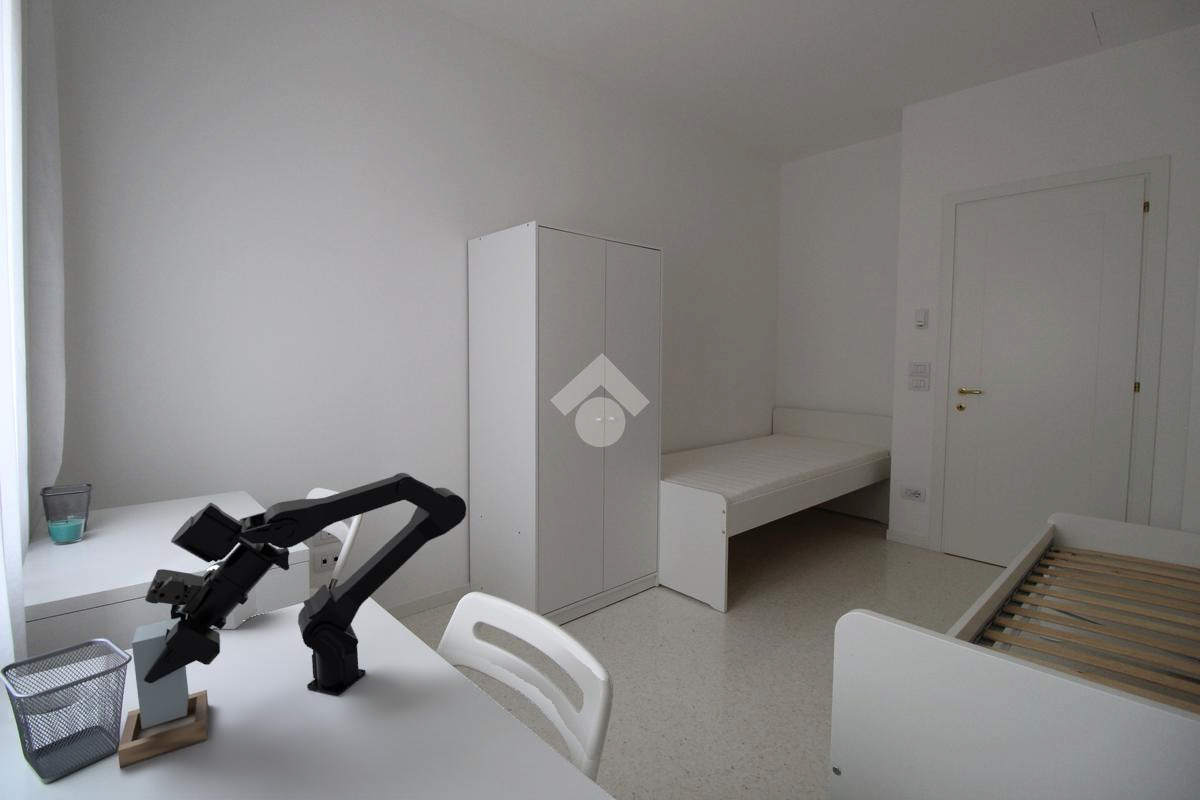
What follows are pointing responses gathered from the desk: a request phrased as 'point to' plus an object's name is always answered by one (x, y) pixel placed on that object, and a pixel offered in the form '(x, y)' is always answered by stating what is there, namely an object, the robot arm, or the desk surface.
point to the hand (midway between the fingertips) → (149, 672)
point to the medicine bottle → (239, 608)
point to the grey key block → (166, 693)
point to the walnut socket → (163, 733)
